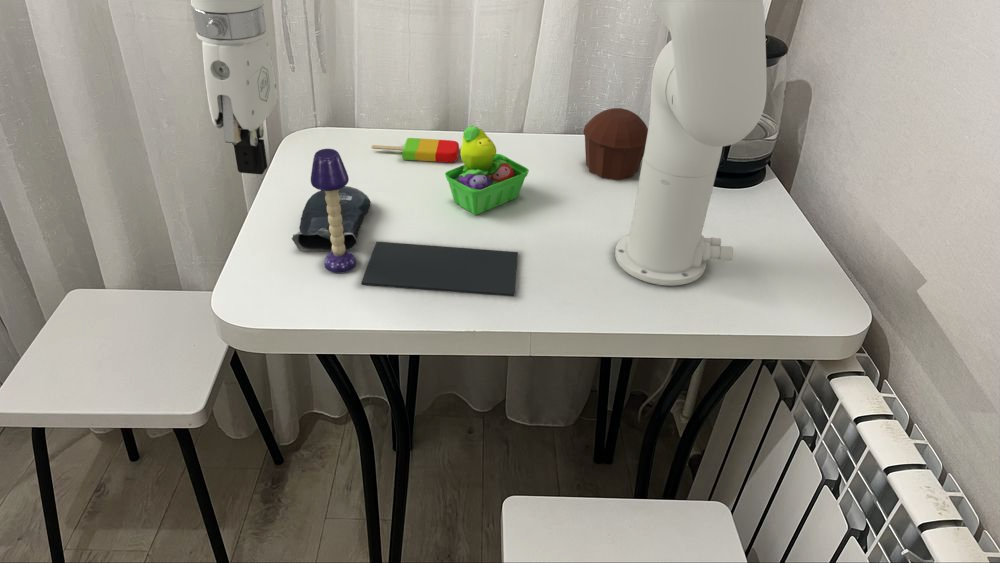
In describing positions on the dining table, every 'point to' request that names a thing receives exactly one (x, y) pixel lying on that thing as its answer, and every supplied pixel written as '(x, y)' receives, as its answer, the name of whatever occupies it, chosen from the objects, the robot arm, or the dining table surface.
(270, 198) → the dining table surface
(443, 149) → the popsicle
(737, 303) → the dining table surface
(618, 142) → the muffin
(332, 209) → the toy lamp
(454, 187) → the fruit basket
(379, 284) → the mat
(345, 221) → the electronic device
